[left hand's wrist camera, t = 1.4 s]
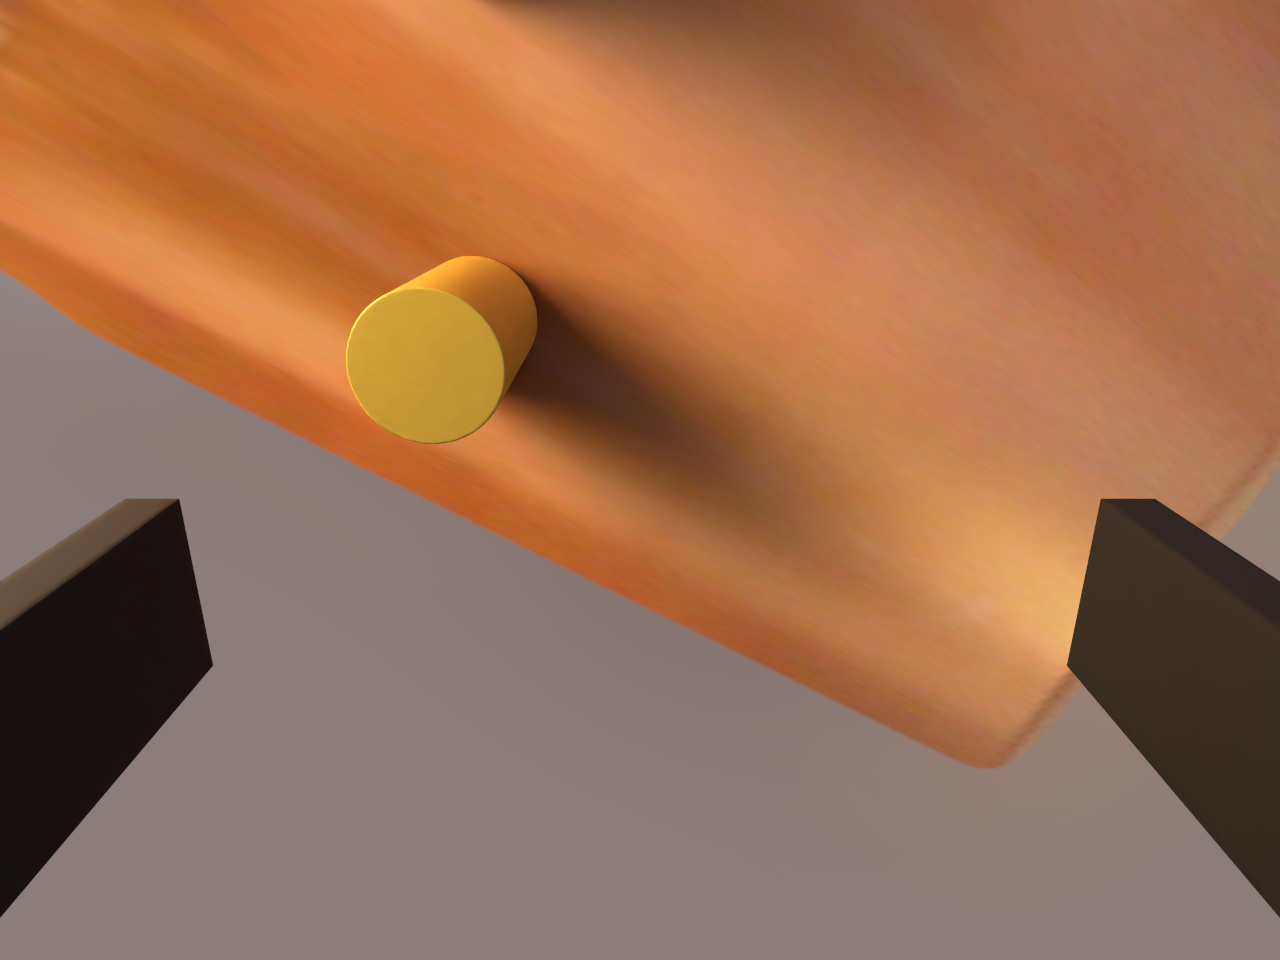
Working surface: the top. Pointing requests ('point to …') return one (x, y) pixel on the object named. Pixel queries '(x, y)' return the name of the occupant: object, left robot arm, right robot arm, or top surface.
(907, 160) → the top surface
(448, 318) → the can
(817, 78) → the top surface
